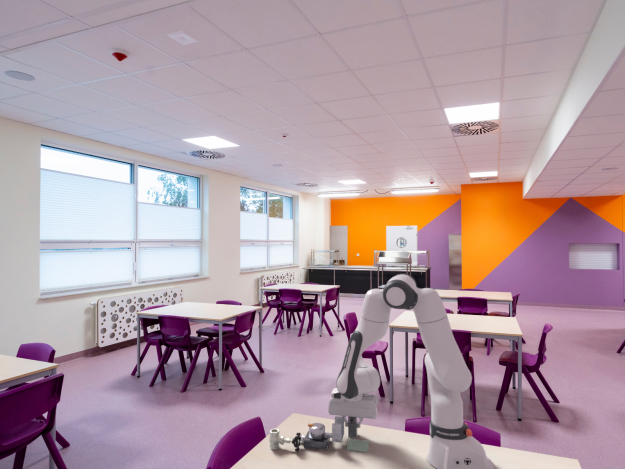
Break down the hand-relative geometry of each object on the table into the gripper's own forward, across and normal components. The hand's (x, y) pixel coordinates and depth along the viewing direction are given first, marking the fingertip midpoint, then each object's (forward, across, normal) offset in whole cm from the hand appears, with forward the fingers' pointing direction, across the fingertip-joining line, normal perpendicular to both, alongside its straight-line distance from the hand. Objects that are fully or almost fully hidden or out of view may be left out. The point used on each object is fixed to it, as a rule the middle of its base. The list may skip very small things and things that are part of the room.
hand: (352, 426), depth 163 cm
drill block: (+4, +14, +10) cm, 18 cm away
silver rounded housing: (0, +10, +10) cm, 14 cm away
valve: (+4, +25, +16) cm, 30 cm away
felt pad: (+4, -3, +8) cm, 9 cm away
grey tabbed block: (+4, 0, 0) cm, 4 cm away
